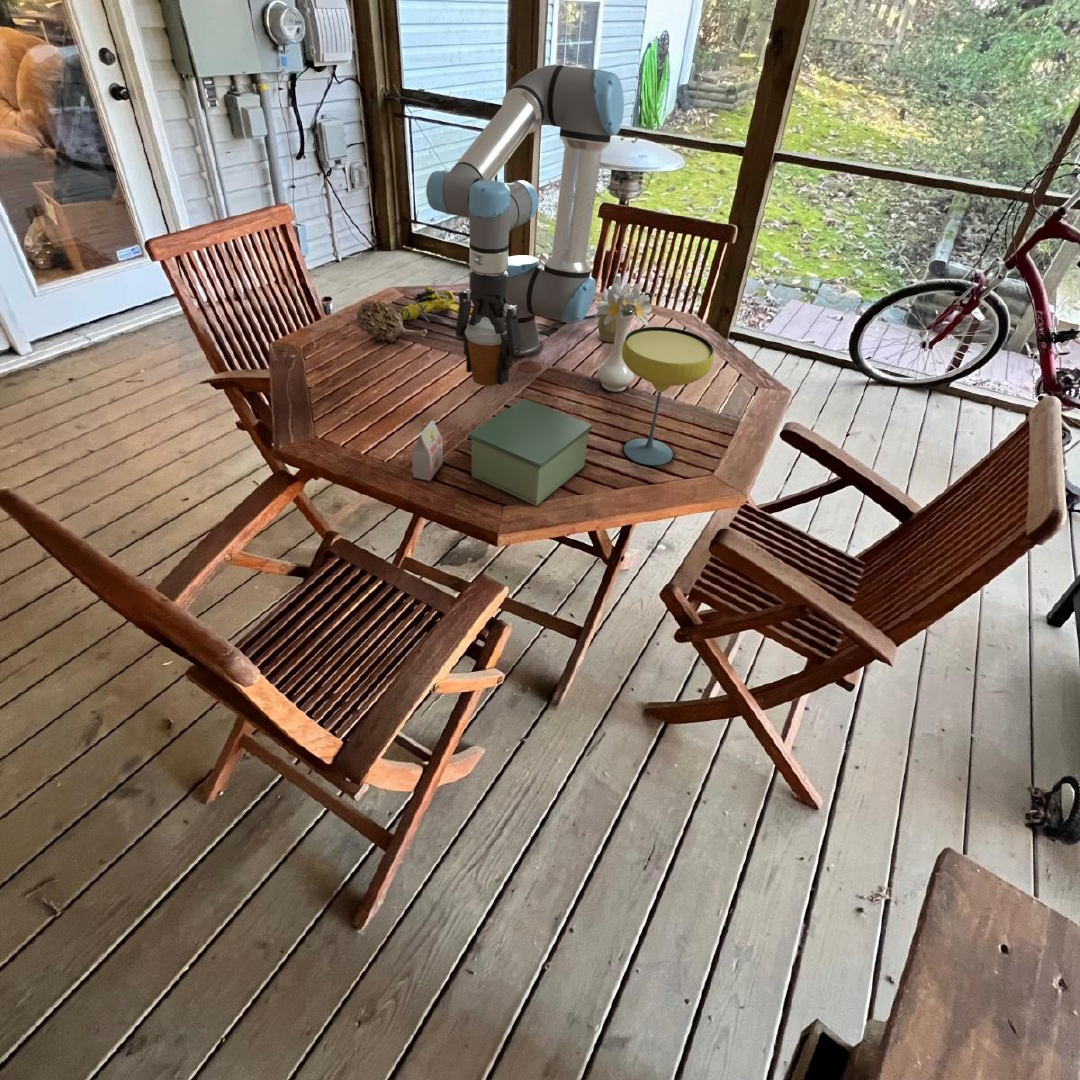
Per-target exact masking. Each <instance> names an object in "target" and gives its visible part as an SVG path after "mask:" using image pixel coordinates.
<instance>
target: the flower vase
mask: <svg viewBox="0 0 1080 1080" xmlns="http://www.w3.org/2000/svg"><path fill="white" fill-rule="evenodd" d="M631 285H632V284H631V283H630V282H628V283H626V284H625V285H623V288H622V290H620V287H619V286H618V285H617V284H614V283H613V284H612V285H611V286H612V287H611V286H610V287H611V291H612V293H611V292H610V293H608V289H607V287H604V289H603V294H602V296H601V300H600V301H598V302H597V304H596V310H597V312H596V314H595V315H596V316H595V318H593V319H597V318H598V317H597V316H598V315H600V314H610V315H607V316H606V318H605V320H604V325H608V324H609V323H610V321H611V320H612V319H613V318H614V317H615V318H616V334H615V339H614V342H613V345H612V350H611V352H610V354H609V356H608V358H607V359H606V360H604V361H602V363H601V364H600V365H599V367H598V368H597V371H596V377H597V378H598V380H599V381H600V383H601V386H602V388H603V389H605V390H606V391H608V392H614V393H615V392H616V393H618V392H623V391H624V390H626V388H627V386H629V385H630V384H631V383H632V382H633V381H634V379H635V374H634V373H633V372H632V371H631V370H630V369H629V368H628V367H627V366H626V364H625V363H624V361H623V358H622V346H623V342H624V339H625V337H626V336H627V335H628V334H629V330H630V325H631V323H632V320H633V318H636V323H637V324H640V323H643V325H644V326H645V327H649V319H648V318H647V316H650V313H651V312H652V310H653V308H652V307H653V306H652V305H651V302H650V301H651V297H649V296H648V295H646V296H645V293H646V292H642V293H641V291H642V286H641V284H640V283H635V284H634V286H633V287H632V290H631V291H629V289H630V287H631ZM603 300H604V301H603ZM621 306H622V307H621ZM620 308H621V310H620Z"/></svg>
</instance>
